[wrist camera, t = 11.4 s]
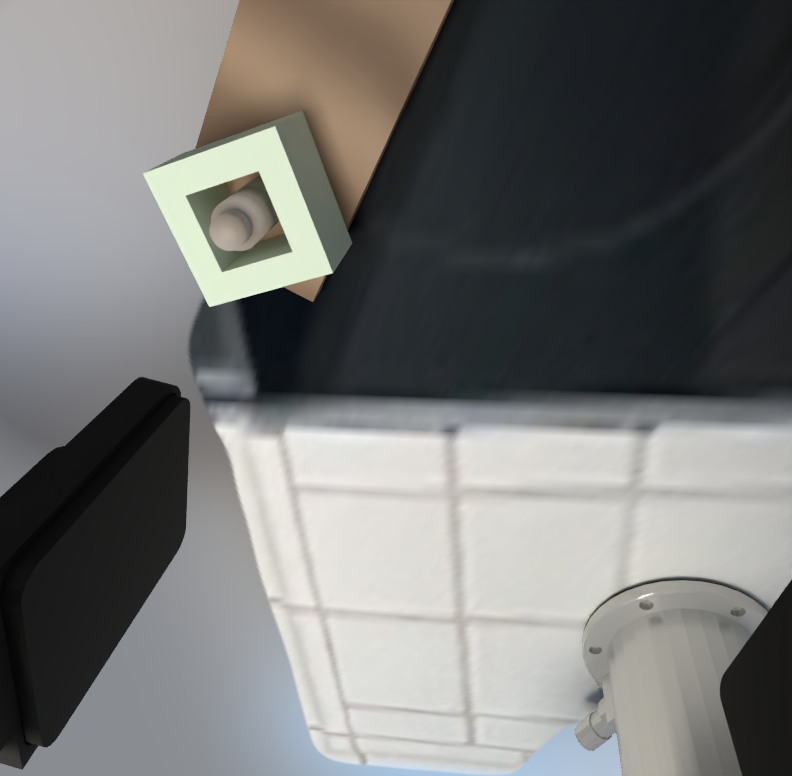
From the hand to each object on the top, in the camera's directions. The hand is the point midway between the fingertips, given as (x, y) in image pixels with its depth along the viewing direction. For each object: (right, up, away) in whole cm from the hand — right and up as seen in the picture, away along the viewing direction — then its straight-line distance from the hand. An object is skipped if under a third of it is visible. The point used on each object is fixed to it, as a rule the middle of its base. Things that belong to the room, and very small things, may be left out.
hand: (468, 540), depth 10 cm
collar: (-7, +11, +22) cm, 26 cm away
